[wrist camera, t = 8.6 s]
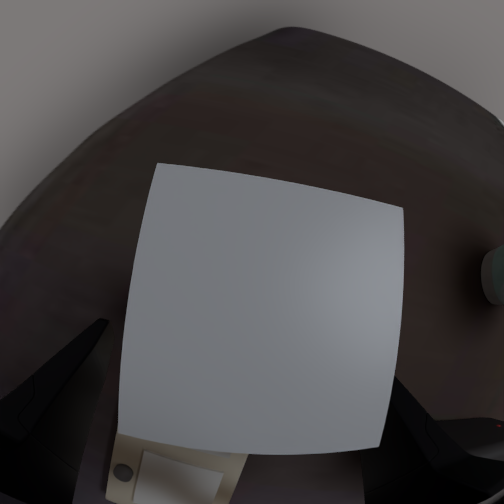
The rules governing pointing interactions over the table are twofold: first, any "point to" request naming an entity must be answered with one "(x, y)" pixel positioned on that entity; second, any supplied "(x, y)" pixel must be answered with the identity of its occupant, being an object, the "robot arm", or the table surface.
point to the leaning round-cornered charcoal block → (477, 436)
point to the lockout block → (261, 316)
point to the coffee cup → (493, 276)
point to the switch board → (170, 473)
